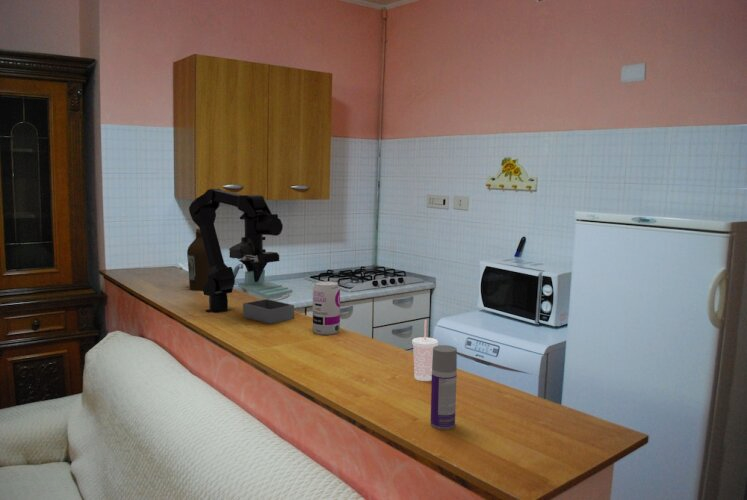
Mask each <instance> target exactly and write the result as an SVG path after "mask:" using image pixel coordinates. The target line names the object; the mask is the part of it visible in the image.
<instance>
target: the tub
mask: <svg viewBox="0 0 747 500" xmlns="http://www.w3.org/2000/svg"><path fill="white" fill-rule="evenodd" d="M242 317H243V318H247V319H250V320H255V321H259V322H262V323H265V324H269V325H270V324H271V325H272V324H276V323H279V322H280V323H281V322H285V321H288V320H293V319H295V305H294V304H291V303H288V302H287V303H286V302H282V301H278V300H273V299H269V298H264V299H260V300H253V301H248V302H244V303H242Z"/></svg>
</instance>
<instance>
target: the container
mask: <svg viewBox="0 0 747 500" xmlns="http://www.w3.org/2000/svg"><path fill="white" fill-rule="evenodd" d="M457 352H458V351H457V347H455V346H452V345H447V344H445V345H444V344H442V345H439V344H438V345H437V346H435V347H433V359H432V380H431V387H430V389H431V391H430V392H431V393H430V394H431V395H430V425H431V427H433V428H434V429H438V430H443V431H445V430H447V431H448V430H451V429H454V428H455V426H456V405H457V404H456V403H457V367H458V366H457V362H458V360H457V359H458V354H457Z"/></svg>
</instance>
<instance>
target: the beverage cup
mask: <svg viewBox="0 0 747 500" xmlns="http://www.w3.org/2000/svg"><path fill="white" fill-rule="evenodd" d="M427 323H428V321H427V319H424V326H423V327H424V328H423V329H424V332H423V337H420V336H419V337H415V338H413V339H412V340H411V345H413V347H412V348H413V349H412V350H413V368H414V369H413V370H414V371H413V373H414V375H413V376H414V379H416V381H417V380H418V381H422V382H429V381H432V359H433V347H435V346H439V341H438V339H436V338H433V337H428V336H427Z"/></svg>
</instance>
